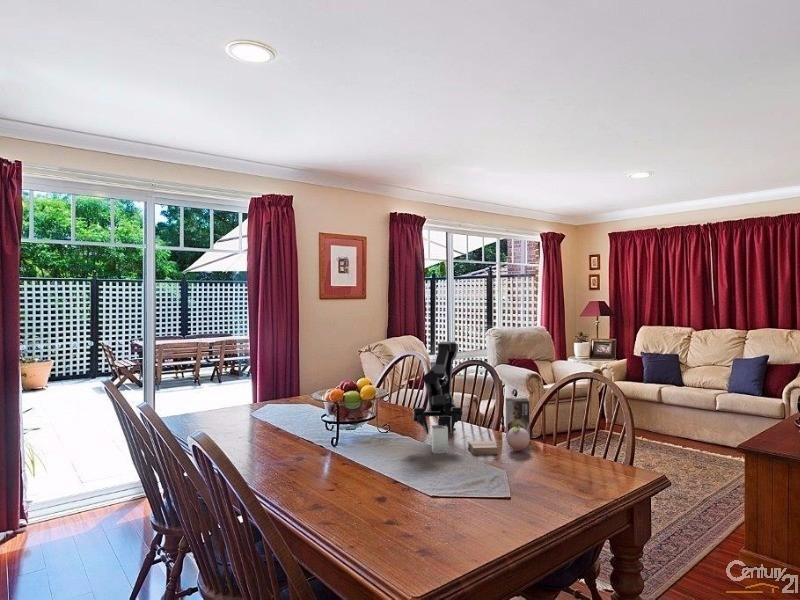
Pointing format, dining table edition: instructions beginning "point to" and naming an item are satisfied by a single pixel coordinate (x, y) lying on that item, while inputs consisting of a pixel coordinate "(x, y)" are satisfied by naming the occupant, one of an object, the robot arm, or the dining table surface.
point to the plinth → (482, 447)
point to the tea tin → (439, 439)
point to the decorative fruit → (518, 438)
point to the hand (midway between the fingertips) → (440, 433)
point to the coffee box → (517, 414)
